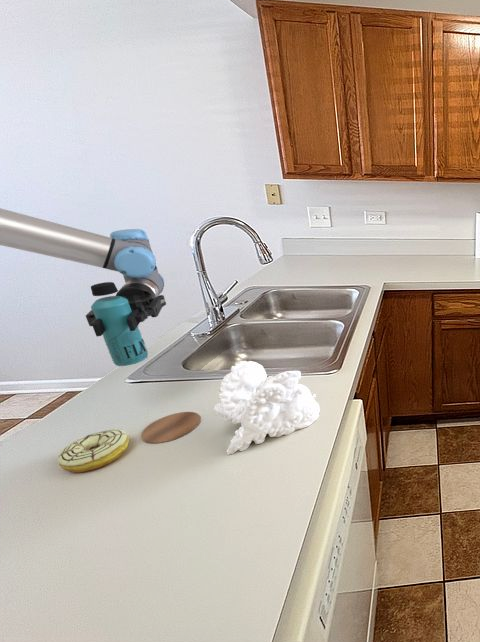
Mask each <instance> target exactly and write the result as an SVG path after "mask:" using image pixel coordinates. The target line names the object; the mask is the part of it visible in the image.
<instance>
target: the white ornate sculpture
mask: <svg viewBox="0 0 480 642" xmlns="http://www.w3.org/2000/svg"><path fill="white" fill-rule="evenodd" d="M230 370H231V371H230V372H228V373H227V374H226V375H224V377H223V379H222V380H221V382H220V387H219V394H217V396H218V399H219V402H218V403H216V404H214V405H213V407H212V408H213V412H215V413H216V415H217V416H219V417H221V418H223V420H224V421H226V422H231V423H232V424H239V423H240V425H241V426H240V427H239V428H238V429H236V430H235V431H234V434H235V435H234V436H233V437H232V438H231V439H230V441H229V445H228V448H227V449H226V455H228V456H229V455H232V454H233V455H234V454H235V453H236V452H237V451H240V452H243V451H245V450H247V449H249V447H250V445H251V444H252V442H254V444H257V445H260V444H262V443H264V442H265V440H266V436H267V435H268V436H269V437H270V438H273V437H274V438H280V437H282V436H283V435H285V436H288V435H290V434H292V433H294V432H295V431H298V430H299V429H301V430H302V429H305V428H307V427H309V426H311V425H312V424H313V423H315V421H317V420H318V419H319V417H320V412H321V407H320V404H319V402H317V401H316V397H317V395H316V393H314V394H312V393H311V389H309V388H308V386H306V385H304V384H302V383H299V382H300V380H301V378H302V373H301V371H300V370H285V371H282V372H279V373H277V374H276V375H271V376H267V375H268V374H267V372H266V370H265V368H264V366H263V365H262V364H260V363H258V362H257V361H254V360H253V361H252V360H240V361H239V362H235V364H234V365H231V367H230Z"/></svg>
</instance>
